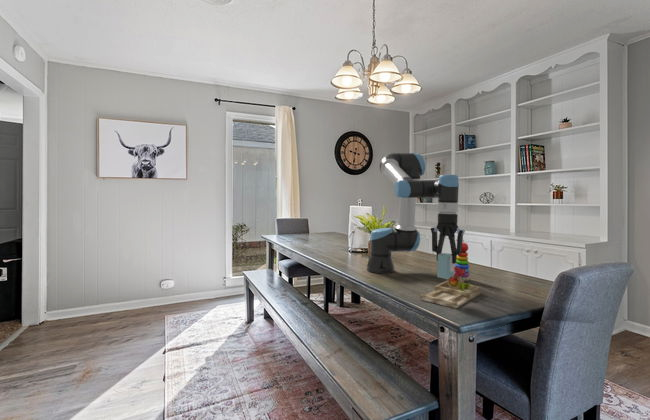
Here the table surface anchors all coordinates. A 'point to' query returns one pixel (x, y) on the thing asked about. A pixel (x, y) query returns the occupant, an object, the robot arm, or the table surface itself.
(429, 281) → the table surface
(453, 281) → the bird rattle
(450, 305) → the jig
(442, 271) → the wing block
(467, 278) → the stacking toy
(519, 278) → the table surface
